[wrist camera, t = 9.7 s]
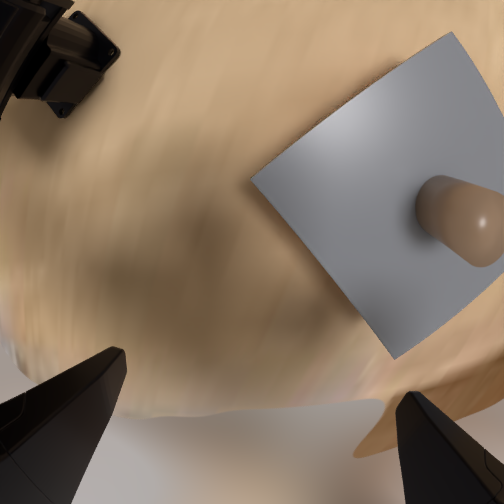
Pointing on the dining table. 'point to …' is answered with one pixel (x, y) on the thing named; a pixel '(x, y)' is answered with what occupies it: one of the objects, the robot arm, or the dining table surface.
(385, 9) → the dining table surface
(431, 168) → the lid
